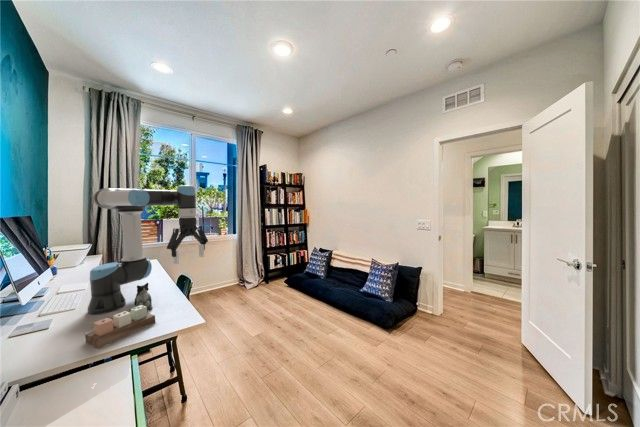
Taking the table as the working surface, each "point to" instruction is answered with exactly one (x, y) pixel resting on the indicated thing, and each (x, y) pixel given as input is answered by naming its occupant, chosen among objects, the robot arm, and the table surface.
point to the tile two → (122, 319)
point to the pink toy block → (103, 326)
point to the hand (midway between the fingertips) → (189, 259)
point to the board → (119, 332)
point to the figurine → (143, 297)
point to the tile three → (138, 312)
